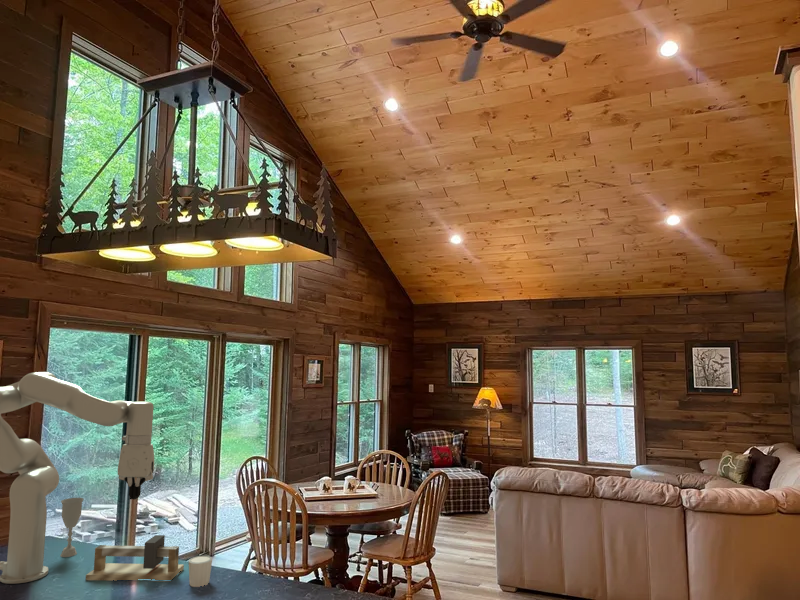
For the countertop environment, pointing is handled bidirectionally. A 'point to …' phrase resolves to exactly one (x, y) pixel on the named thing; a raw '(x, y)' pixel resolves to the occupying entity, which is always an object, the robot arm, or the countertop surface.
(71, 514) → the chalice
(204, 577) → the cream short cylinder
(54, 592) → the countertop surface
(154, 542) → the collar
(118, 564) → the pipe rig
